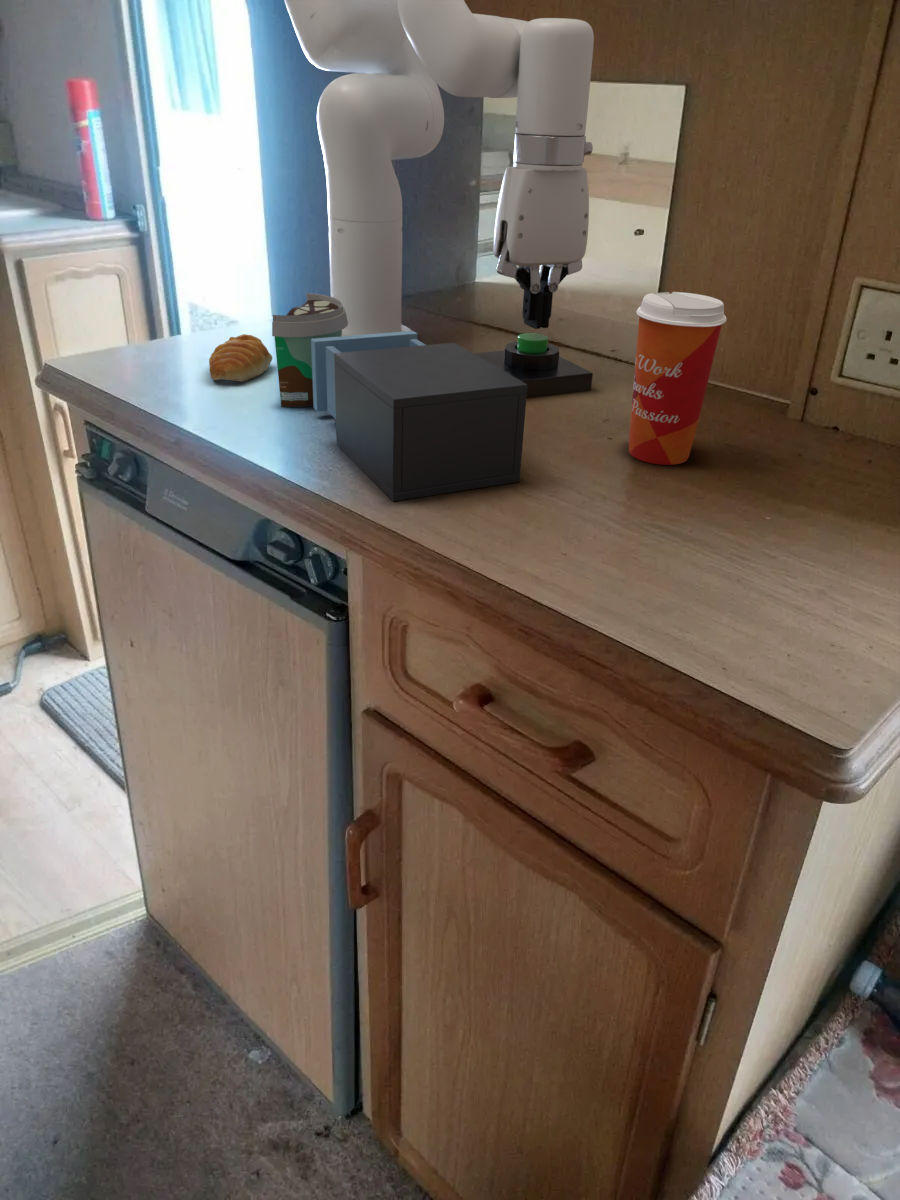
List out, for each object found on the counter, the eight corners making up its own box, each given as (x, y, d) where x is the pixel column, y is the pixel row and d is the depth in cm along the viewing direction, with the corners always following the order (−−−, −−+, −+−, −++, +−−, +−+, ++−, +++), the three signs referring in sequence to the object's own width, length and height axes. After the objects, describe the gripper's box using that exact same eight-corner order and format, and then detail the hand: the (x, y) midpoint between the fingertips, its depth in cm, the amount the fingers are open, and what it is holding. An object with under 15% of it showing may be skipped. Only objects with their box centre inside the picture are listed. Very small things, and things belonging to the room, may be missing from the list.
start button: (511, 348, 110) (512, 334, 109) (537, 346, 112) (538, 331, 111) (526, 356, 107) (527, 341, 107) (552, 353, 109) (553, 339, 108)
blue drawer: (297, 392, 101) (294, 326, 97) (393, 383, 105) (393, 318, 102) (358, 451, 86) (357, 375, 83) (466, 437, 91) (469, 364, 87)
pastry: (253, 387, 105) (251, 354, 103) (196, 384, 105) (192, 351, 103) (275, 365, 113) (272, 334, 111) (221, 362, 113) (218, 331, 111)
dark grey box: (336, 444, 90) (334, 353, 86) (451, 430, 95) (454, 342, 90) (393, 501, 79) (393, 399, 74) (519, 481, 84) (527, 384, 79)
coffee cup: (601, 444, 93) (621, 292, 86) (668, 435, 96) (693, 288, 88) (648, 474, 86) (673, 312, 79) (718, 464, 89) (749, 307, 82)
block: (470, 370, 114) (472, 338, 112) (539, 364, 118) (542, 332, 116) (517, 399, 105) (520, 365, 103) (590, 391, 109) (594, 357, 107)
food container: (331, 416, 97) (329, 320, 92) (276, 410, 98) (270, 316, 93) (361, 383, 108) (360, 296, 103) (311, 378, 109) (308, 291, 104)
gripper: (587, 150, 104) (572, 314, 114) (471, 151, 99) (465, 323, 108) (625, 156, 99) (606, 328, 108) (504, 156, 93) (494, 338, 102)
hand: (535, 325), depth 108 cm, fingers closed
